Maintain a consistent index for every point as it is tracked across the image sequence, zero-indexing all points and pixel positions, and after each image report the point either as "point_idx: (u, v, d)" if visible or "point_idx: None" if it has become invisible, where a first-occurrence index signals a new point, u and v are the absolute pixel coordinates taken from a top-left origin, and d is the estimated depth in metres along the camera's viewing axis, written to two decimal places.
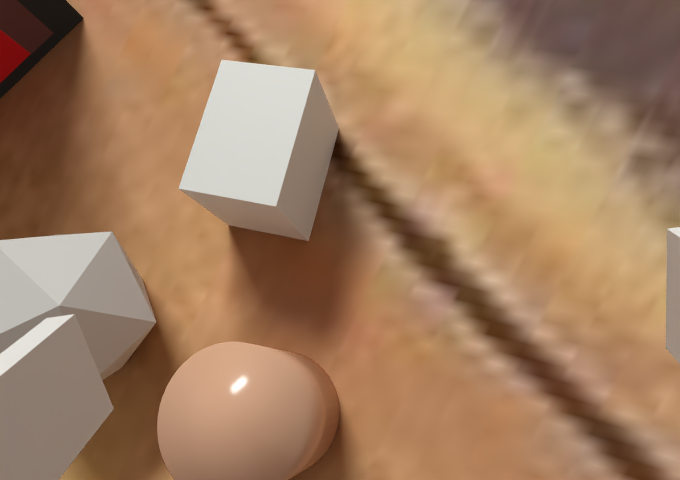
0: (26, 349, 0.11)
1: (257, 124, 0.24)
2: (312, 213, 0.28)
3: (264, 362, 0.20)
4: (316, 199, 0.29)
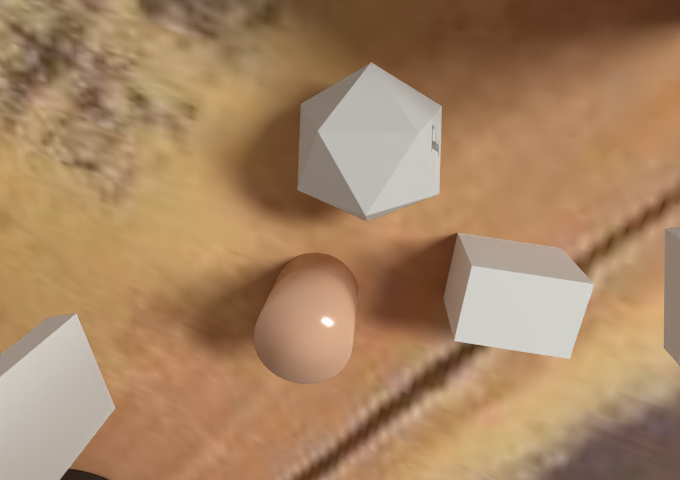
0: (28, 348, 0.11)
1: (525, 320, 0.30)
2: None
3: (341, 359, 0.31)
4: None
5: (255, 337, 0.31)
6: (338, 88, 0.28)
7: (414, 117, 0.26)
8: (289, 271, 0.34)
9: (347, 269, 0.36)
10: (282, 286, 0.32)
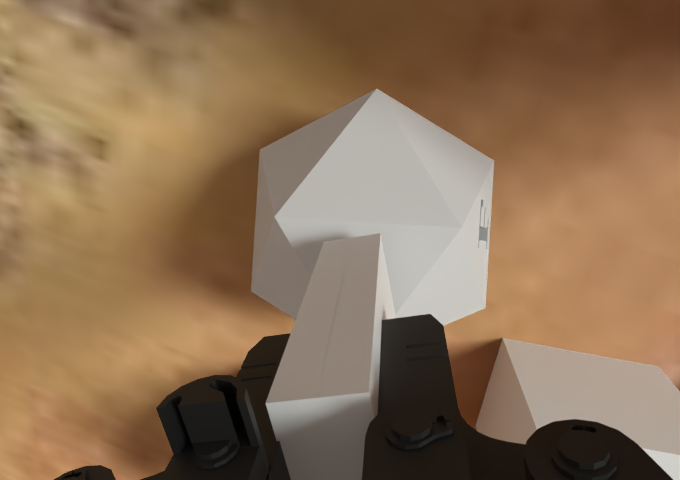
0: (340, 260, 0.12)
1: None
2: None
3: None
4: None
5: None
6: (318, 131, 0.16)
7: (453, 194, 0.14)
8: None
9: None
10: None
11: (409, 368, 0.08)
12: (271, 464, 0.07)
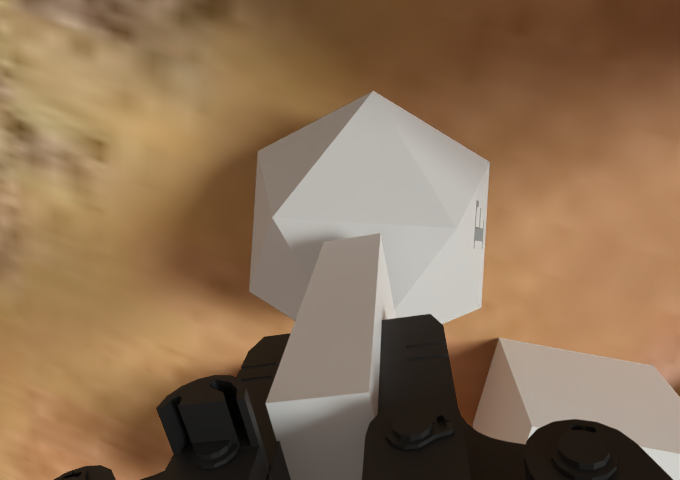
0: (340, 260, 0.12)
1: None
2: None
3: None
4: None
5: None
6: (315, 132, 0.16)
7: (449, 195, 0.15)
8: None
9: None
10: None
11: (409, 368, 0.08)
12: (271, 464, 0.07)
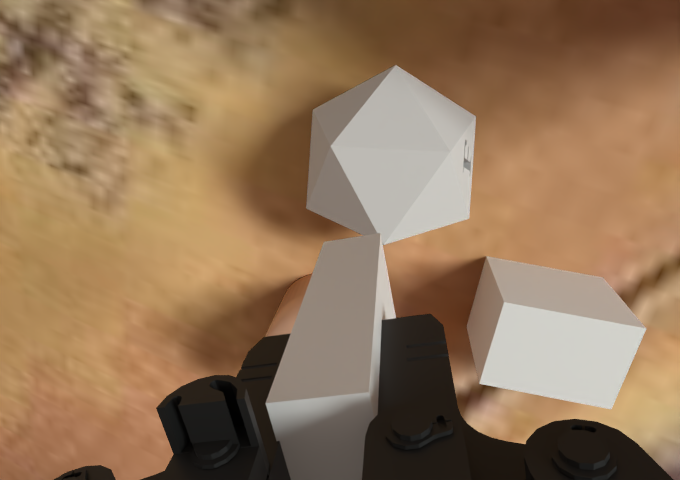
0: (340, 260, 0.12)
1: (563, 365, 0.27)
2: None
3: None
4: None
5: None
6: (356, 94, 0.24)
7: (445, 132, 0.22)
8: (293, 296, 0.31)
9: None
10: (284, 316, 0.29)
11: (409, 369, 0.08)
12: (271, 464, 0.07)
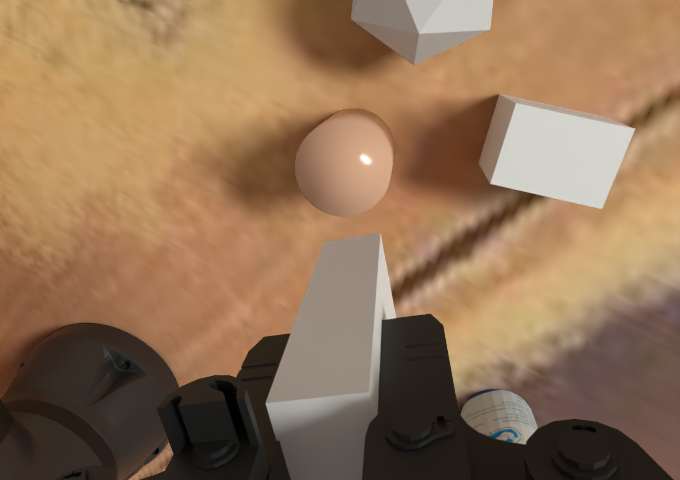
0: (340, 260, 0.12)
1: (562, 165, 0.31)
2: None
3: (379, 189, 0.32)
4: None
5: (296, 165, 0.32)
6: None
7: None
8: (330, 117, 0.35)
9: (385, 124, 0.37)
10: (323, 122, 0.33)
11: (409, 369, 0.08)
12: (271, 464, 0.07)
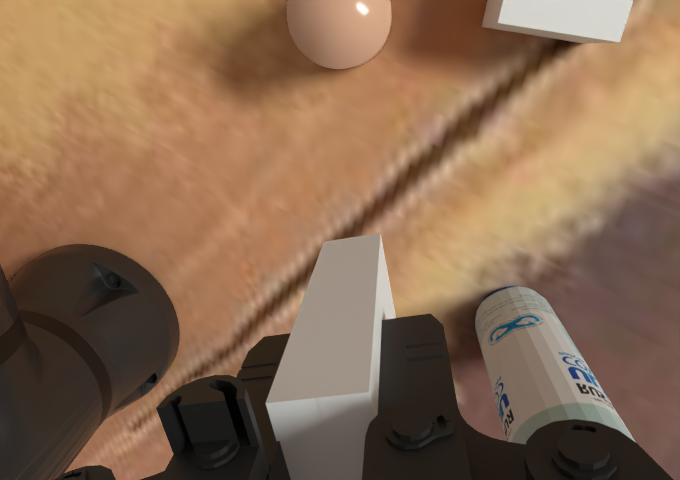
0: (340, 260, 0.12)
1: None
2: (503, 29, 0.34)
3: (379, 33, 0.29)
4: (516, 32, 0.34)
5: (288, 13, 0.29)
6: None
7: None
8: None
9: None
10: None
11: (409, 369, 0.08)
12: (271, 464, 0.07)
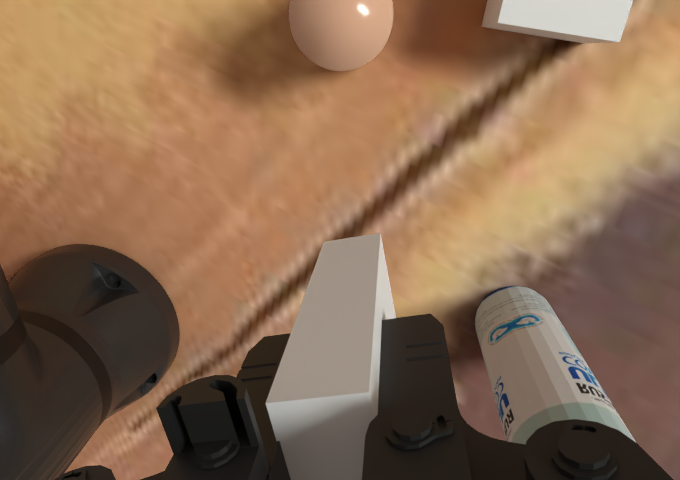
0: (340, 260, 0.12)
1: None
2: (503, 29, 0.34)
3: (381, 34, 0.29)
4: (516, 32, 0.34)
5: (290, 15, 0.29)
6: None
7: None
8: None
9: None
10: None
11: (410, 368, 0.08)
12: (271, 464, 0.07)
